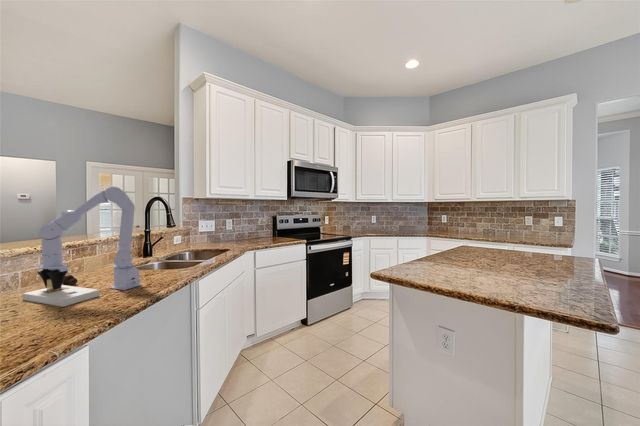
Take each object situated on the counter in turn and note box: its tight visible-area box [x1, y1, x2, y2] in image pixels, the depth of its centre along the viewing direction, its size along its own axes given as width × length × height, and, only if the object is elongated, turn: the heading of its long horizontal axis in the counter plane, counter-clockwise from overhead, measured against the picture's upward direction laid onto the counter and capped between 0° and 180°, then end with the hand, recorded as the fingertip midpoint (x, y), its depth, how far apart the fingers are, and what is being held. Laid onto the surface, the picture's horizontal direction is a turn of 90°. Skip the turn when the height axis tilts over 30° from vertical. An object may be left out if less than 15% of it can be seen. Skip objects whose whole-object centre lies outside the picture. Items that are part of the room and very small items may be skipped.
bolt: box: [62, 274, 79, 286], centre depth 125 cm, size 6×5×15 cm
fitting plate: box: [22, 284, 101, 307], centre depth 106 cm, size 24×12×3 cm, turn 71°
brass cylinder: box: [47, 278, 61, 293], centre depth 107 cm, size 4×4×6 cm
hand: (53, 288), depth 107 cm, fingers closed on brass cylinder, 4 cm apart
